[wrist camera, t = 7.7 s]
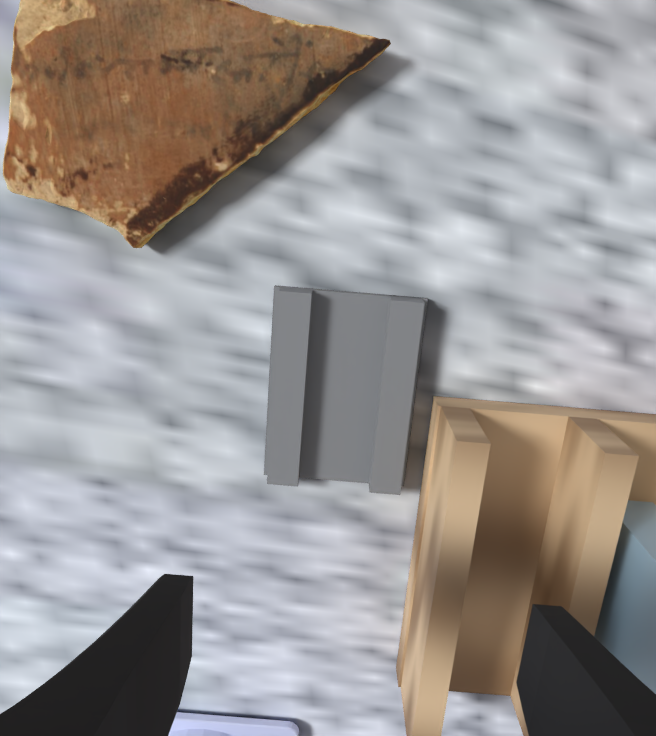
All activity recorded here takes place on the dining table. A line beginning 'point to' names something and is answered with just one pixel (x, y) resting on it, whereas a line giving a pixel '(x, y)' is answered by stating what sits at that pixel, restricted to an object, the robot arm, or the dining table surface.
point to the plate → (632, 595)
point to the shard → (158, 100)
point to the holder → (342, 386)
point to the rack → (511, 538)
